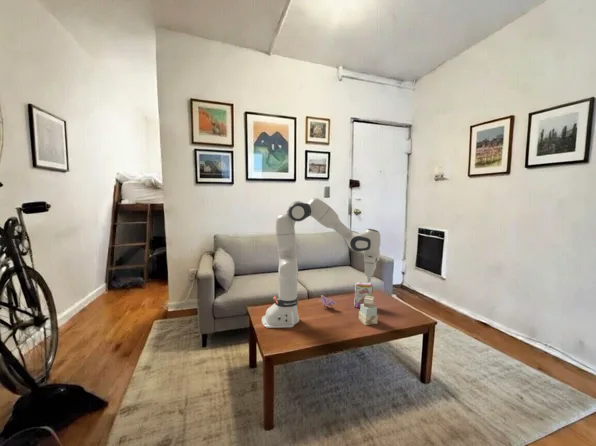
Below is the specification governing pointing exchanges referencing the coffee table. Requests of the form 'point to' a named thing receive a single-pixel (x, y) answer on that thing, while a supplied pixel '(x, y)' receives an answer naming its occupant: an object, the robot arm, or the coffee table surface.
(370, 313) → the tower top
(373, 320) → the tower base
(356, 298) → the candy bar box
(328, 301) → the lily
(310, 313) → the coffee table surface
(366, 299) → the cube
